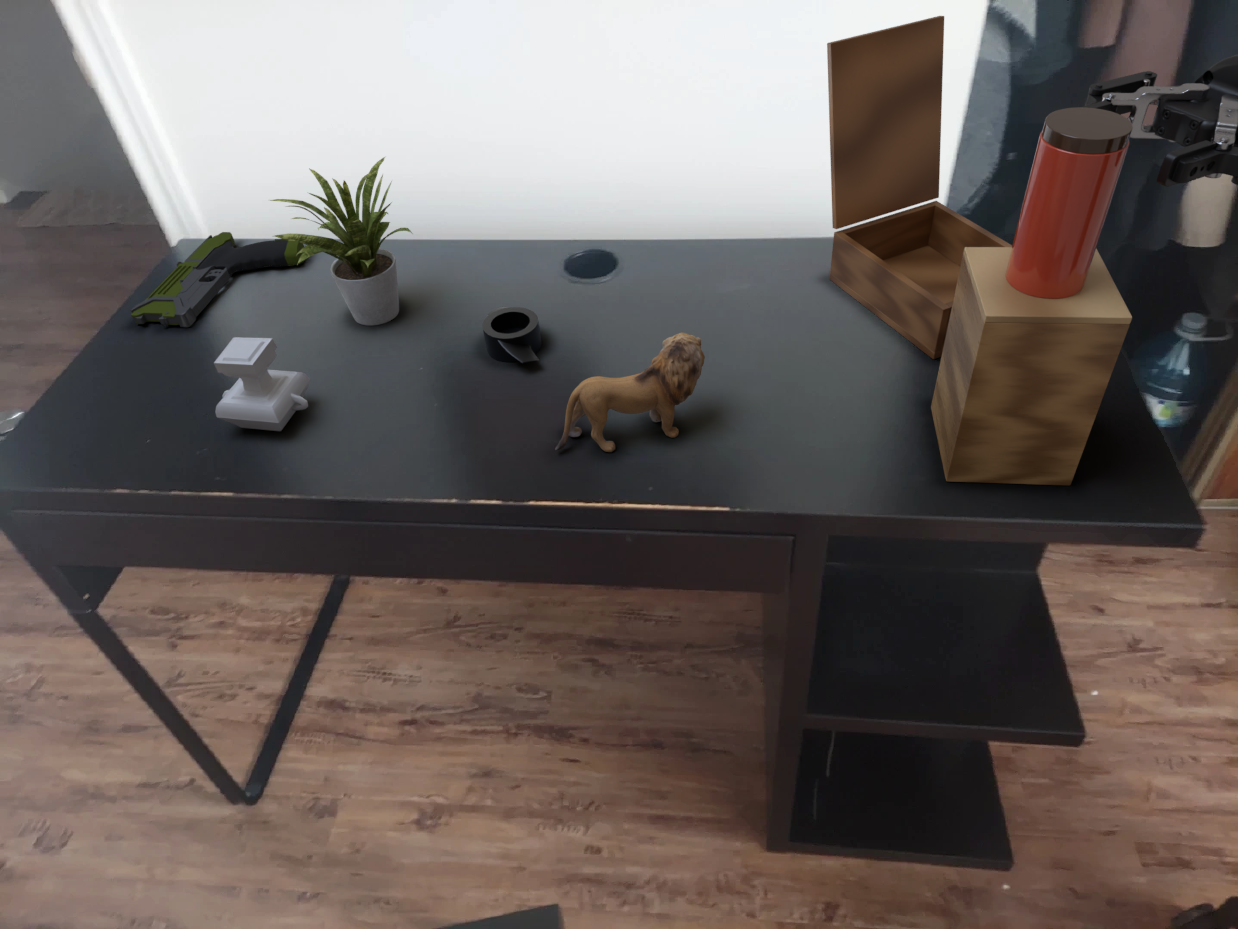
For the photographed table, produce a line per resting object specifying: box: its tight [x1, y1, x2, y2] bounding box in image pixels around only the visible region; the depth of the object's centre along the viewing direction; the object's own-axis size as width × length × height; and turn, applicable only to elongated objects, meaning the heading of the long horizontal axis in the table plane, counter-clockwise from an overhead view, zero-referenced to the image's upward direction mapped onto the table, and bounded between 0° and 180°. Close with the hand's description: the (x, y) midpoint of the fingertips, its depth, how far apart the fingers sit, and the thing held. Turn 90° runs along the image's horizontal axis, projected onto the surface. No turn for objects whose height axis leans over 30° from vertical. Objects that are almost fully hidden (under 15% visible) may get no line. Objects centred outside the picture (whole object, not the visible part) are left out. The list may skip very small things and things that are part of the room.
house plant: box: [269, 156, 414, 326], centre depth 99 cm, size 14×14×16 cm
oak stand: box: [930, 254, 1131, 486], centre depth 75 cm, size 10×10×16 cm
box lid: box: [826, 15, 945, 230], centre depth 97 cm, size 18×14×4 cm
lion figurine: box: [554, 332, 706, 453], centre depth 82 cm, size 15×5×9 cm, turn 112°
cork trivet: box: [964, 247, 1133, 324], centre depth 70 cm, size 10×10×1 cm
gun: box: [130, 231, 306, 328], centre depth 109 cm, size 2×19×15 cm
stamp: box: [213, 336, 311, 432], centre depth 87 cm, size 9×7×8 cm
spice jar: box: [1005, 106, 1133, 299], centre depth 65 cm, size 6×6×12 cm
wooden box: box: [829, 200, 1013, 360], centre depth 96 cm, size 18×14×6 cm
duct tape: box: [481, 305, 542, 364], centre depth 96 cm, size 8×10×3 cm
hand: (1112, 148), depth 64 cm, fingers open, 8 cm apart
